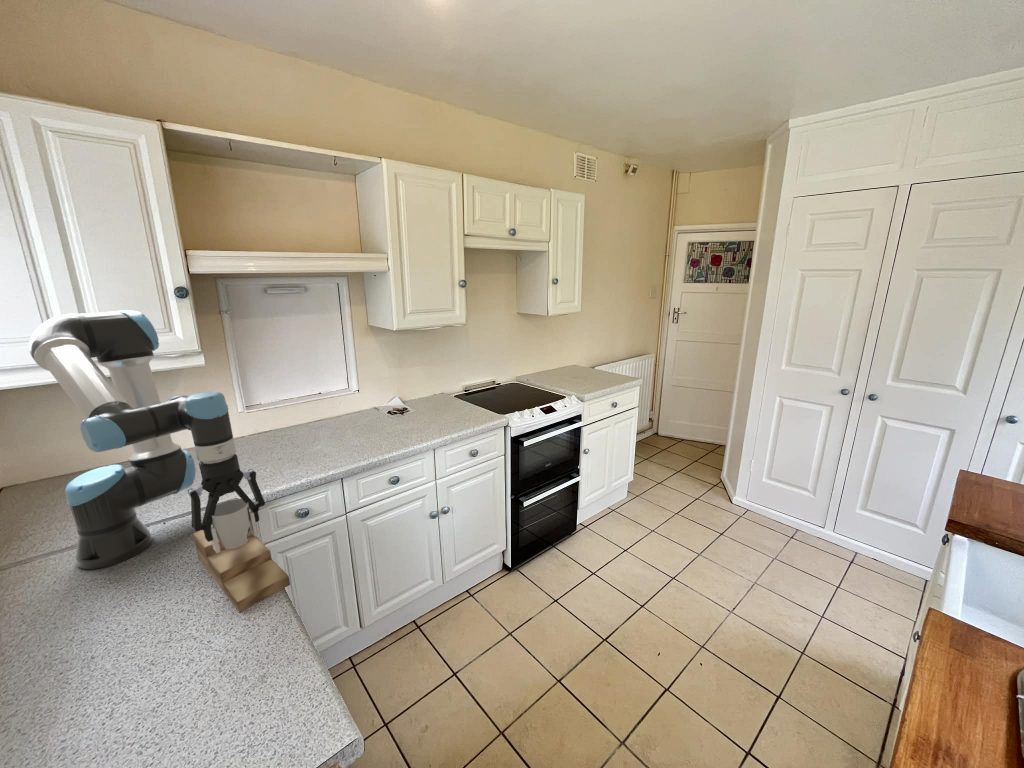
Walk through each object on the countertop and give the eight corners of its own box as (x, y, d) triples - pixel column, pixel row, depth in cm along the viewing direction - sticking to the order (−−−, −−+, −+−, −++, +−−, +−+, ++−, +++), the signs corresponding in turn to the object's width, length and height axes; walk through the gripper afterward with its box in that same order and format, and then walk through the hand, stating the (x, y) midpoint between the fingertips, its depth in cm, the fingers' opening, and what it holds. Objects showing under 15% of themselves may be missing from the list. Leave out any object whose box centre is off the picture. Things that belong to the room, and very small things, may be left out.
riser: (239, 612, 92) (232, 583, 90) (198, 558, 111) (192, 533, 109) (290, 584, 100) (285, 557, 99) (244, 538, 119) (239, 514, 117)
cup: (260, 541, 104) (253, 505, 102) (223, 557, 98) (214, 520, 96) (248, 529, 109) (241, 495, 107) (212, 544, 103) (203, 508, 101)
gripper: (167, 478, 88) (190, 570, 94) (270, 447, 103) (285, 528, 109) (159, 468, 93) (181, 557, 98) (258, 440, 108) (273, 518, 114)
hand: (236, 541), depth 104 cm, fingers closed on cup, 8 cm apart
